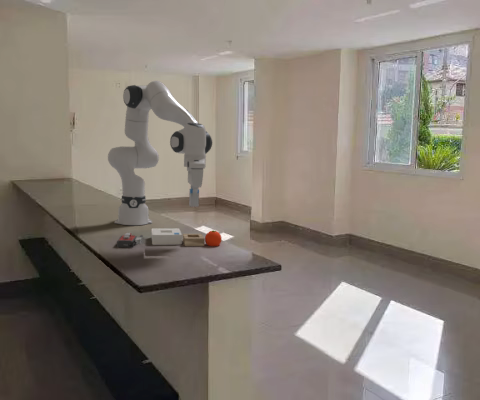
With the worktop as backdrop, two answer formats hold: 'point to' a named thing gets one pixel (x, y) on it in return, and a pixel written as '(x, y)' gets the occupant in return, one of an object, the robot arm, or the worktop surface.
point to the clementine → (213, 238)
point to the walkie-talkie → (129, 240)
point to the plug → (193, 199)
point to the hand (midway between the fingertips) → (194, 196)
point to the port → (166, 236)
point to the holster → (193, 239)
